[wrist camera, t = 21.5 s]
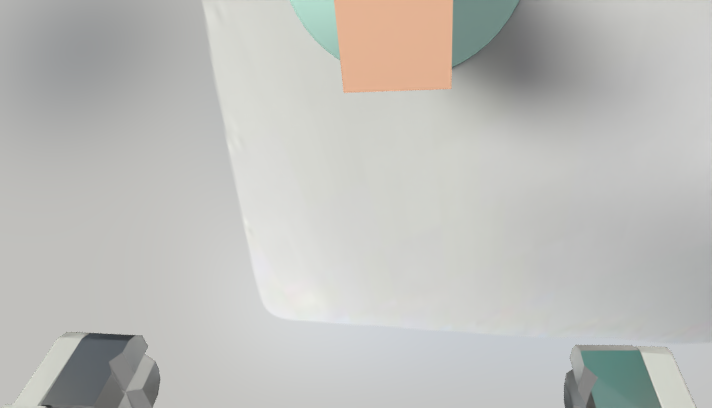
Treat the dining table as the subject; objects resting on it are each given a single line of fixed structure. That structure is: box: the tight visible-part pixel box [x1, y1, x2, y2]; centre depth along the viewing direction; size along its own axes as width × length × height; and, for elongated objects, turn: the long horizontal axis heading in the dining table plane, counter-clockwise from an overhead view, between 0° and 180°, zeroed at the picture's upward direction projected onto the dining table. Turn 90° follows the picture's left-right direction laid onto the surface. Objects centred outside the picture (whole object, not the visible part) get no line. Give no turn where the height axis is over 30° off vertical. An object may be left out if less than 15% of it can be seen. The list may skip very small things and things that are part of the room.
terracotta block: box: [334, 0, 453, 93], centre depth 26 cm, size 5×5×5 cm
